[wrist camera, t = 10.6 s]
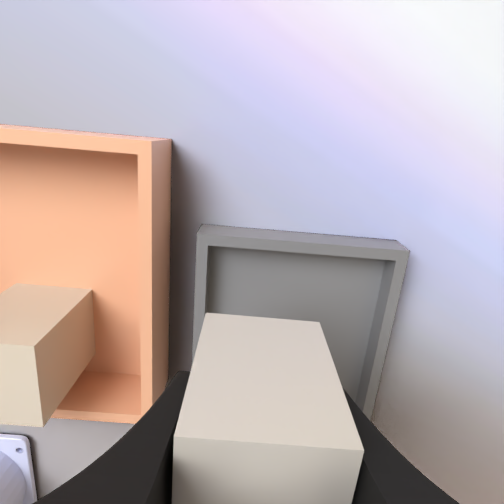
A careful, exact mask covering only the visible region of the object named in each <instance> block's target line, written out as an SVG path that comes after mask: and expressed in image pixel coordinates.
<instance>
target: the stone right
mask: <svg viewBox="0 0 504 504" xmlns="http://www.w3.org/2000/svg"><path fill="white" fill-rule="evenodd" d="M363 454H364V448H363V446H362V443H361V440H360V437H359V434H358V431H357V428H356V425H355V423H354V420H353V417H352V414H351V411H350V408H349V405H348V402H347V400H346V397H345V394H344V391H343V388H342V385H341V382H340V379H339V377H338V374H337V371H336V368H335V365H334V362H333V359H332V356H331V354H330V351H329V348H328V345H327V342H326V339H325V336H324V334H323V331H322V328H321V325H320V322H313V321H301V320H289V319H277V318H265V317H253V316H241V315H229V314H217V313H206V314H205V318H204V322H203V326H202V330H201V333H200V337H199V341H198V345H197V349H196V353H195V357H194V360H193V364H192V368H191V372H190V376H189V380H188V384H187V387H186V391H185V395H184V399H183V403H182V407H181V410H180V414H179V418H178V422H177V426H176V430H175V434H174V445H173V477H172V504H351V503H352V499H353V495H354V491H355V487H356V483H357V479H358V474H359V470H360V466H361V462H362V458H363Z"/></svg>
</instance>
